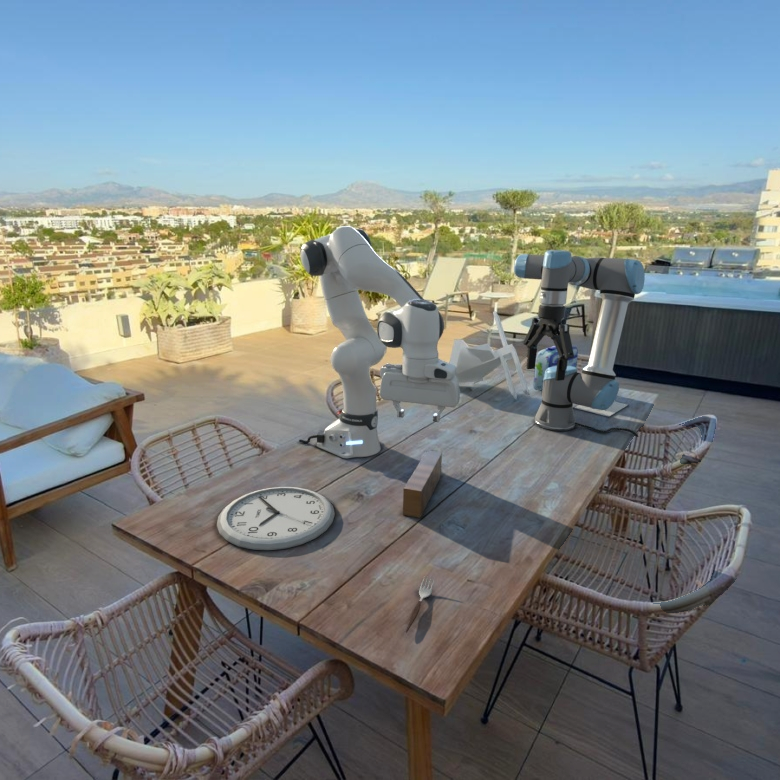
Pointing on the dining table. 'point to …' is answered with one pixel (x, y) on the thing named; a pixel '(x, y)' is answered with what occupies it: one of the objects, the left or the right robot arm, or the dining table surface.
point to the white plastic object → (485, 360)
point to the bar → (422, 484)
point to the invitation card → (608, 412)
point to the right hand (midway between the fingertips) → (544, 374)
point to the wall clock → (275, 518)
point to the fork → (423, 593)
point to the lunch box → (549, 364)
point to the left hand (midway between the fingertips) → (418, 419)
